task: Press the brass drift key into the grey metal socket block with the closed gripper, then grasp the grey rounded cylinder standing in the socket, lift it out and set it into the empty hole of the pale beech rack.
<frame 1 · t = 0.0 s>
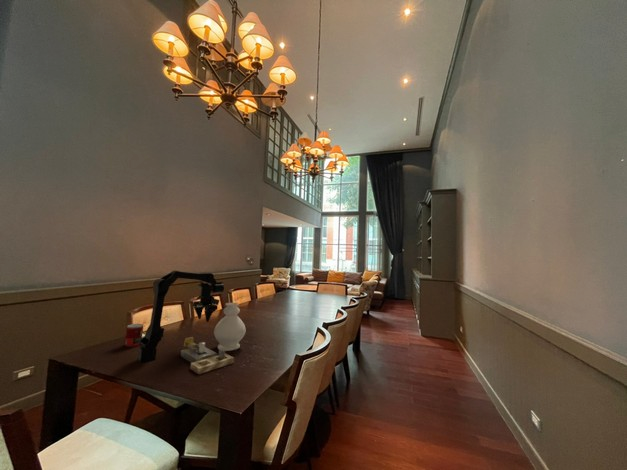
hand: (203, 320, 149), 15 cm above the table, fingers open, 9 cm apart
canned food: (133, 345, 143), on the table
decorative vase: (228, 347, 148), on the table
grey rounded cylinder: (200, 358, 129), resting in socket
rack: (212, 365, 122), on the table
socket: (197, 357, 131), on the table
key: (191, 343, 136), point 5 cm above the table, slide at 0.0 cm
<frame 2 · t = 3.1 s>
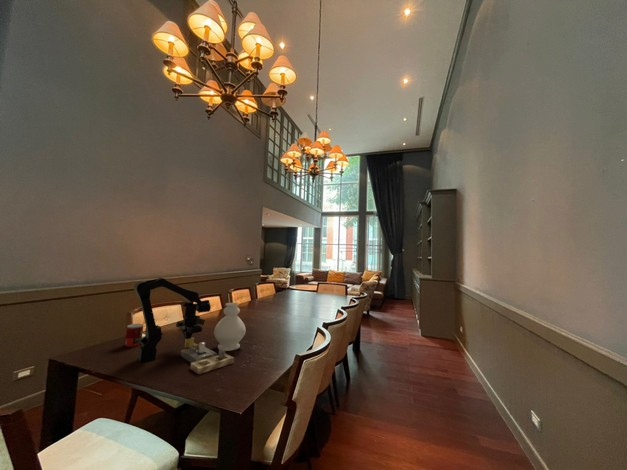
hand: (187, 342, 139), 5 cm above the table, fingers closed
key: (192, 343, 136), point 5 cm above the table, slide at 0.8 cm, touching gripper
everything else where it was.
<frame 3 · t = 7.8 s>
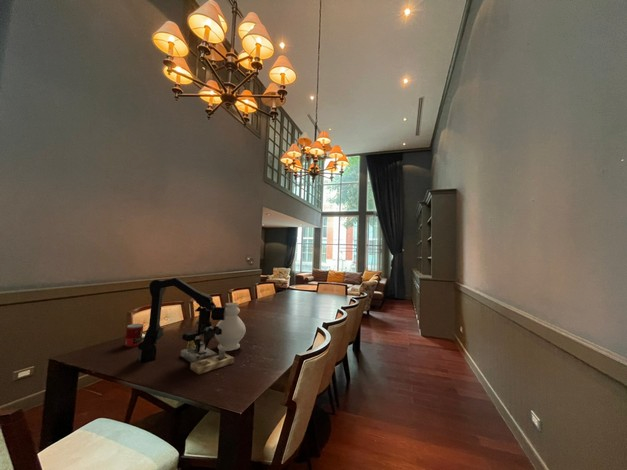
hand: (201, 350, 129), 4 cm above the table, fingers closed on grey rounded cylinder, 3 cm apart
grey rounded cylinder: (200, 358, 129), resting in socket, touching gripper
key: (195, 344, 134), point 5 cm above the table, slide at 3.7 cm
everything else where it was.
when the fingers open (5 cm above the table, at t = 11.1 s): grey rounded cylinder drops 1 cm, resting in rack.
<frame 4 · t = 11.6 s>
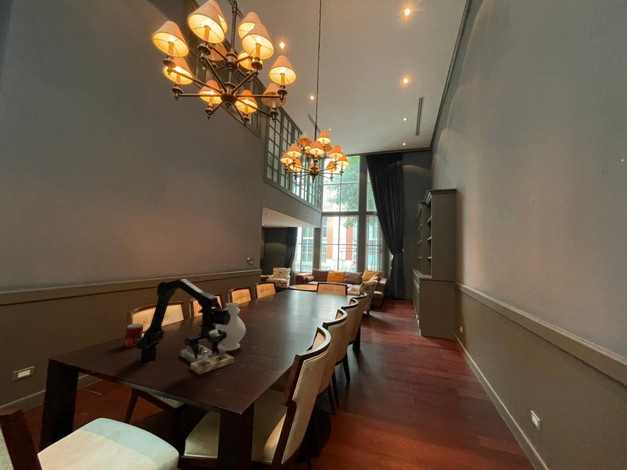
hand: (204, 356, 119), 5 cm above the table, fingers open, 8 cm apart
grey rounded cylinder: (203, 368, 118), resting in rack
everything else where it was.
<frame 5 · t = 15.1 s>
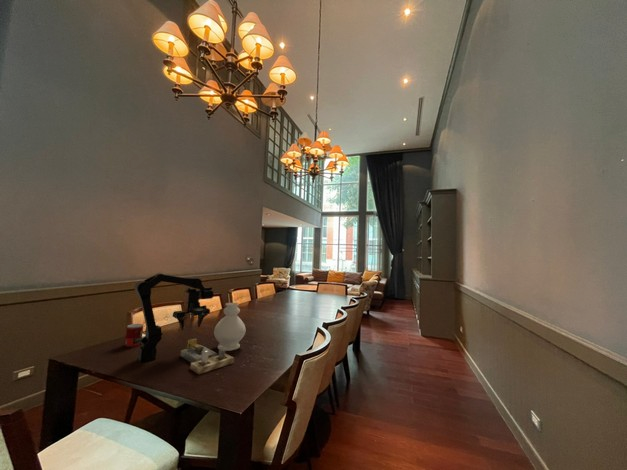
hand: (190, 328, 141), 12 cm above the table, fingers open, 9 cm apart
nothing on the table moved.
at the end: key slide at 3.7 cm; grey rounded cylinder 0.0 cm from the target spot on the rack, point 0.0 cm above the rack's base; grey rounded cylinder tilted 0° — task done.
